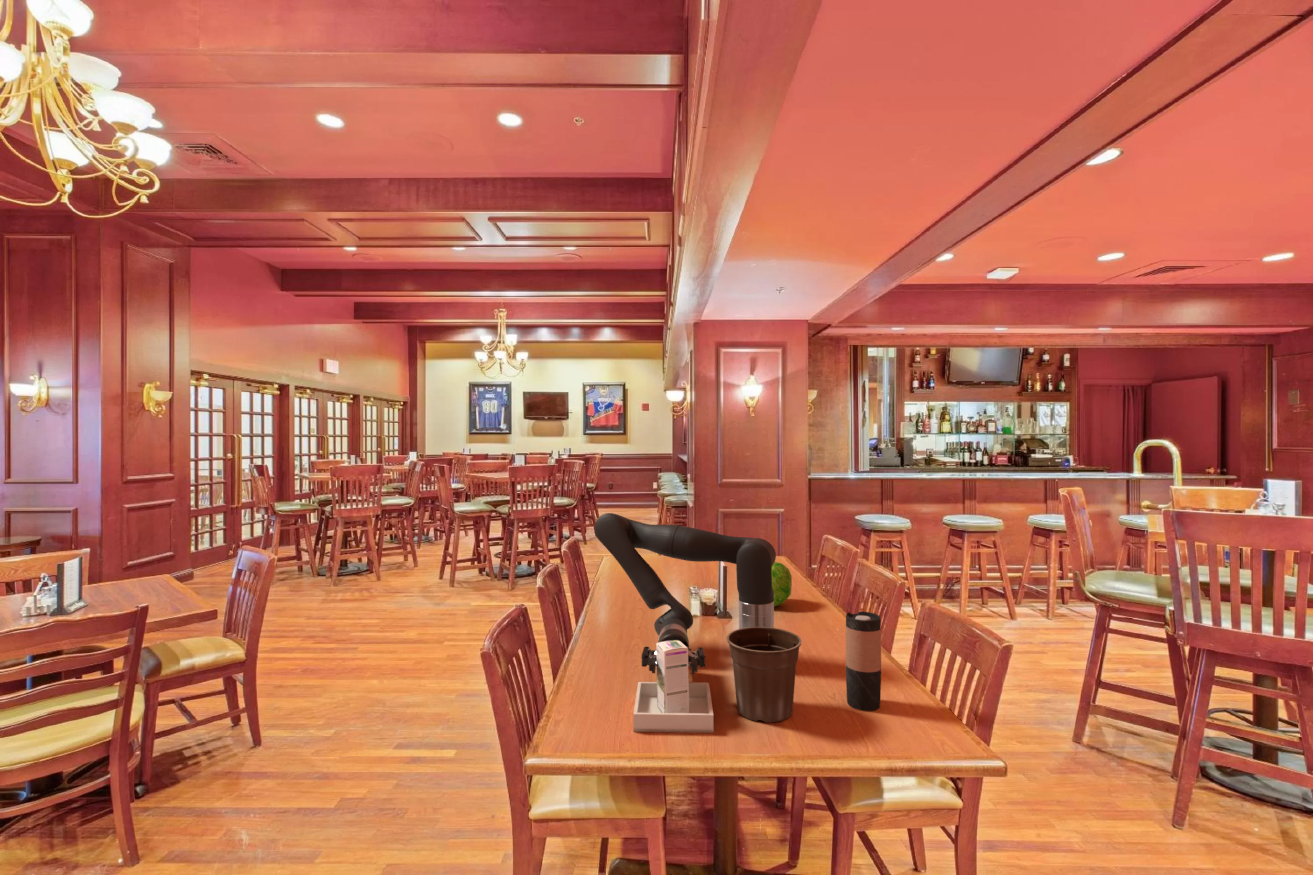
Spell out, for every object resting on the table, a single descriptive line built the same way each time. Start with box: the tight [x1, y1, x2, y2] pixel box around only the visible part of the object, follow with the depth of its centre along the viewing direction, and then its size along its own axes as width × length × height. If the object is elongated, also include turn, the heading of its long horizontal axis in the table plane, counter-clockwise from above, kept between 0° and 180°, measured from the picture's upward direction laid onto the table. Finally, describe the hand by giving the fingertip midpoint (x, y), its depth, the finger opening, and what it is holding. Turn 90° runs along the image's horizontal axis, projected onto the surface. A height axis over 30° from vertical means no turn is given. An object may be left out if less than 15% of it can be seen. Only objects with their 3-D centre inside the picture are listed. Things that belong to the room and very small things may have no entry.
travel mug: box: [845, 610, 882, 712], centre depth 135 cm, size 8×8×20 cm
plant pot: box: [726, 627, 802, 724], centre depth 132 cm, size 16×16×16 cm
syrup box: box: [655, 640, 690, 713], centre depth 131 cm, size 6×6×14 cm
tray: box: [632, 681, 714, 734], centre depth 130 cm, size 16×16×4 cm
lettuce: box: [772, 561, 793, 608], centre depth 216 cm, size 17×20×16 cm
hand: (673, 669), depth 129 cm, fingers open, 8 cm apart
